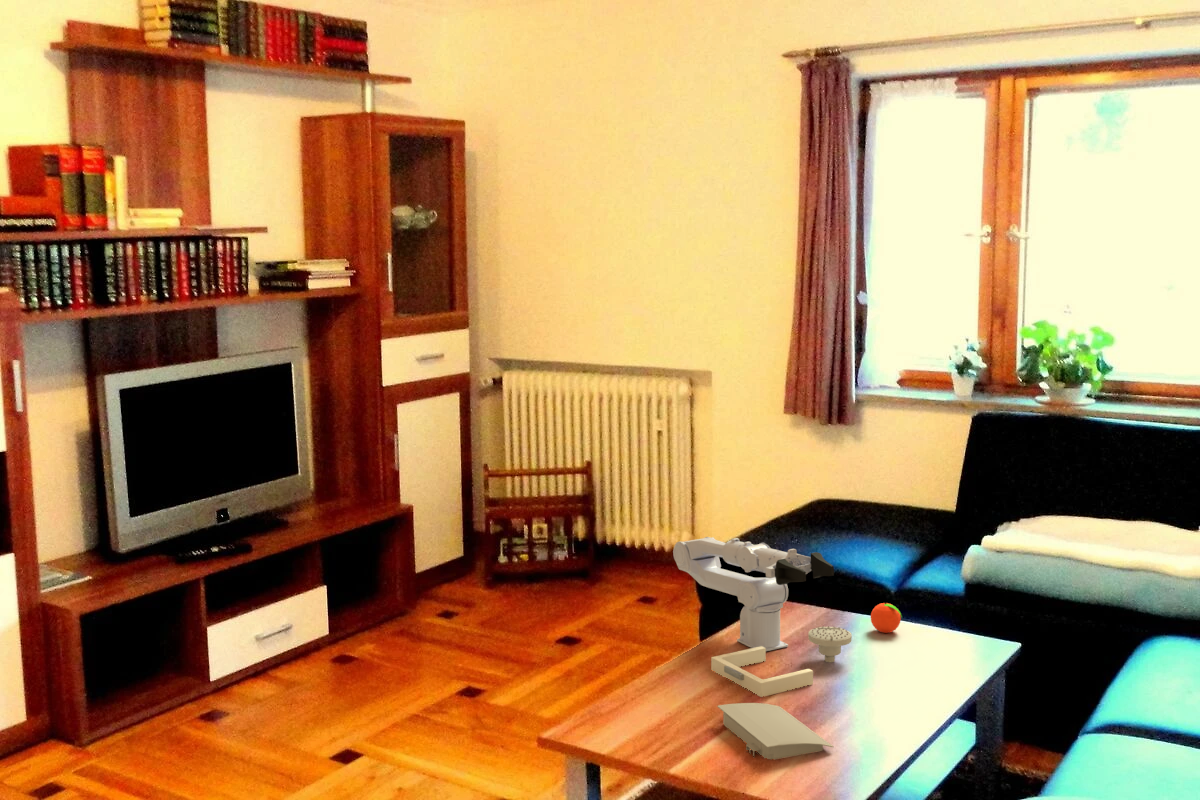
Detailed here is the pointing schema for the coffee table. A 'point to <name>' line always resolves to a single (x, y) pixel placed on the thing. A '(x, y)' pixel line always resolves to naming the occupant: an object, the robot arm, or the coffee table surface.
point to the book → (770, 730)
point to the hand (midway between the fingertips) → (818, 573)
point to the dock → (730, 669)
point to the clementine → (885, 617)
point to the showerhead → (830, 640)
